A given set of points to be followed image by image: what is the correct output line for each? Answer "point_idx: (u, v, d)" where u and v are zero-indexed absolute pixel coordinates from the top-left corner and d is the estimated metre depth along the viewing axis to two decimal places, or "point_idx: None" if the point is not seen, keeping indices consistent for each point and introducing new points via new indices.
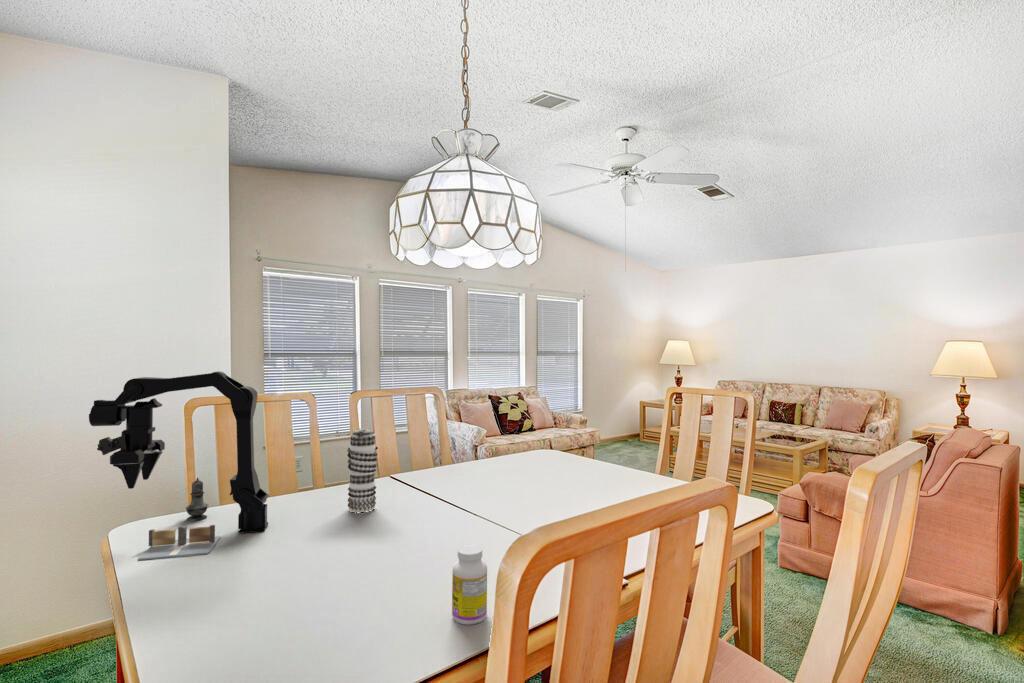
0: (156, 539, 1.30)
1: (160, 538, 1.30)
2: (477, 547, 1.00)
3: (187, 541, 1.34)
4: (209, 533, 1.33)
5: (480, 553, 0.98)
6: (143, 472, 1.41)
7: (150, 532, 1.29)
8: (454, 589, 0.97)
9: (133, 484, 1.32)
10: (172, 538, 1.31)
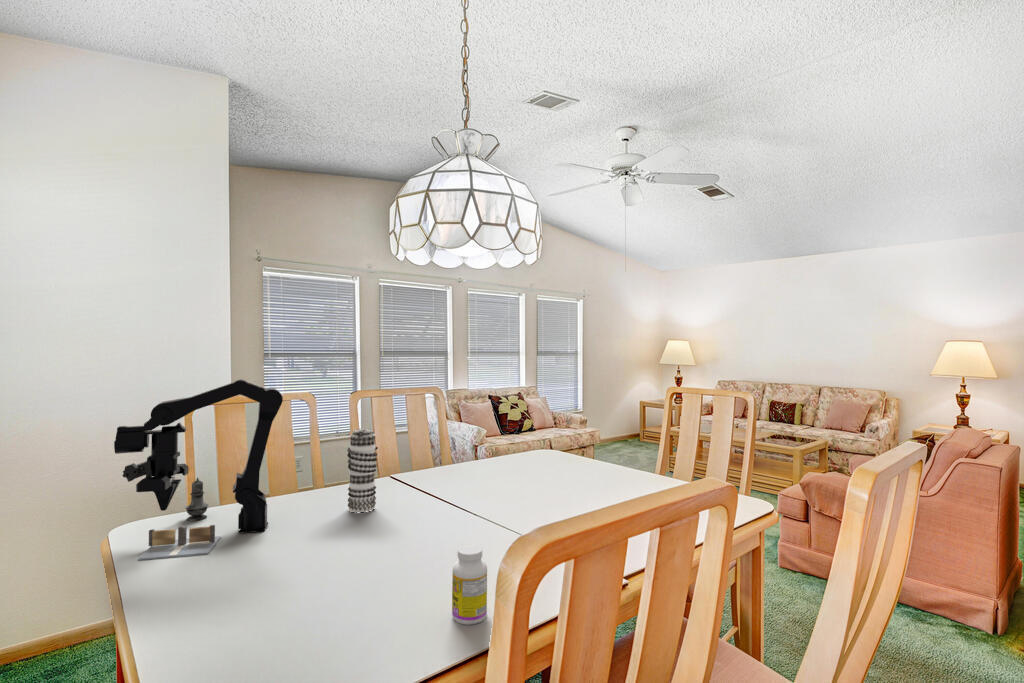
0: (156, 539, 1.30)
1: (160, 538, 1.30)
2: (477, 547, 1.00)
3: (187, 541, 1.34)
4: (209, 533, 1.33)
5: (480, 553, 0.98)
6: None
7: (150, 532, 1.29)
8: (454, 589, 0.97)
9: (165, 506, 1.34)
10: (172, 538, 1.31)
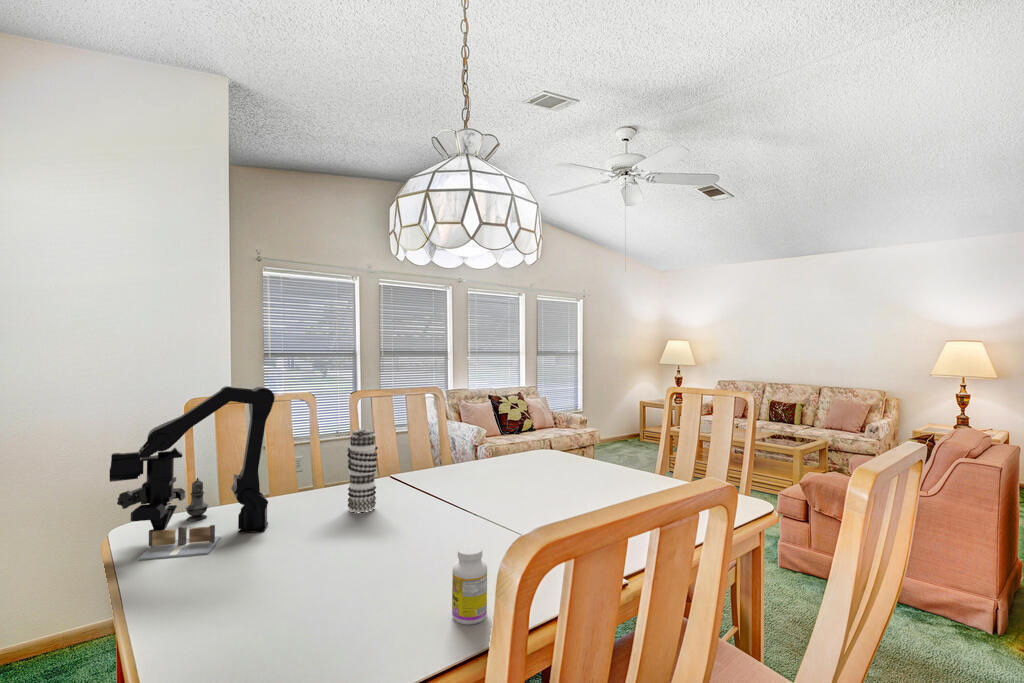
0: (156, 539, 1.30)
1: (160, 538, 1.30)
2: (477, 547, 1.00)
3: (187, 541, 1.34)
4: (209, 533, 1.33)
5: (480, 553, 0.98)
6: None
7: (150, 532, 1.29)
8: (454, 589, 0.97)
9: None
10: (172, 538, 1.31)
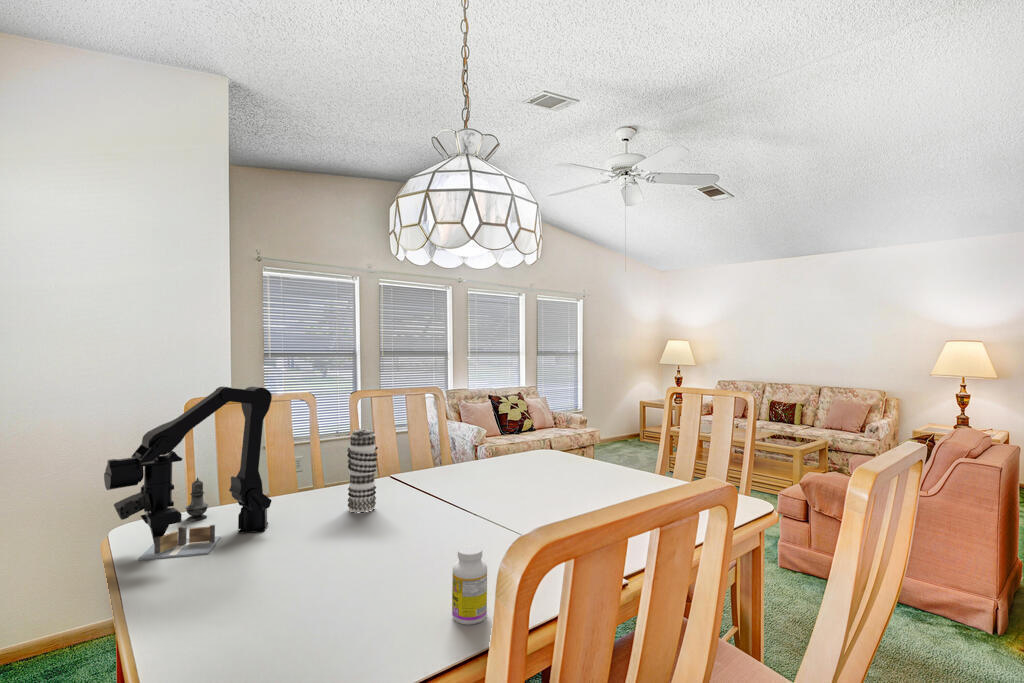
0: (163, 544, 1.26)
1: (166, 542, 1.27)
2: (477, 547, 1.00)
3: (187, 541, 1.34)
4: (209, 533, 1.33)
5: (480, 553, 0.98)
6: (154, 536, 1.27)
7: (158, 539, 1.25)
8: (454, 589, 0.97)
9: None
10: (176, 540, 1.30)
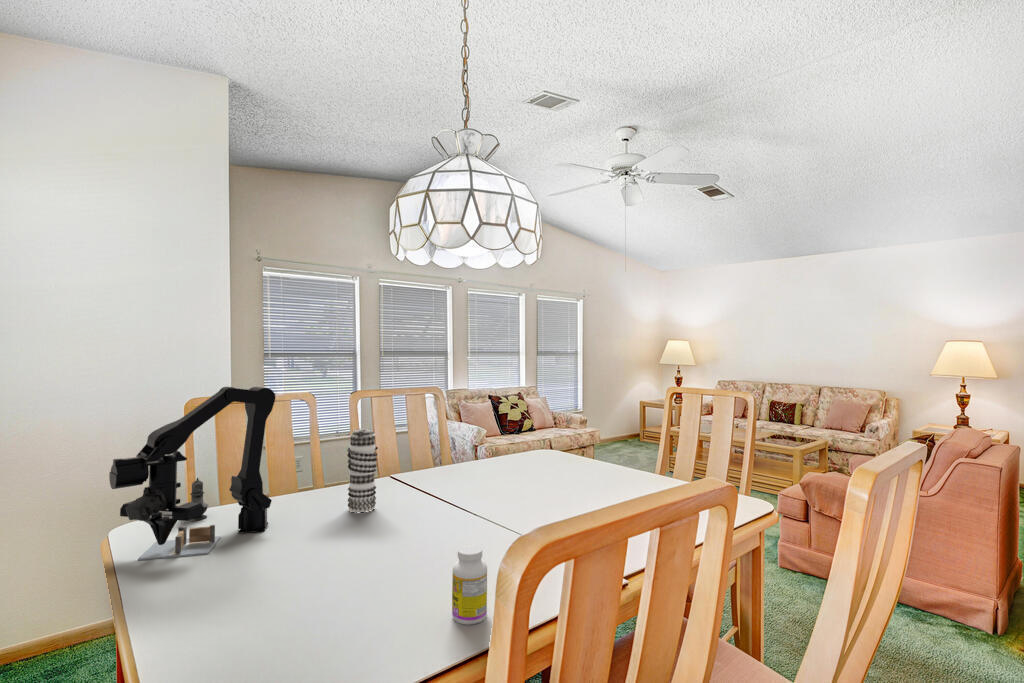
0: (181, 544, 1.27)
1: (181, 542, 1.28)
2: (477, 547, 1.00)
3: (187, 541, 1.34)
4: (209, 533, 1.33)
5: (480, 553, 0.98)
6: None
7: (181, 538, 1.26)
8: (454, 589, 0.97)
9: (166, 539, 1.28)
10: (183, 539, 1.30)
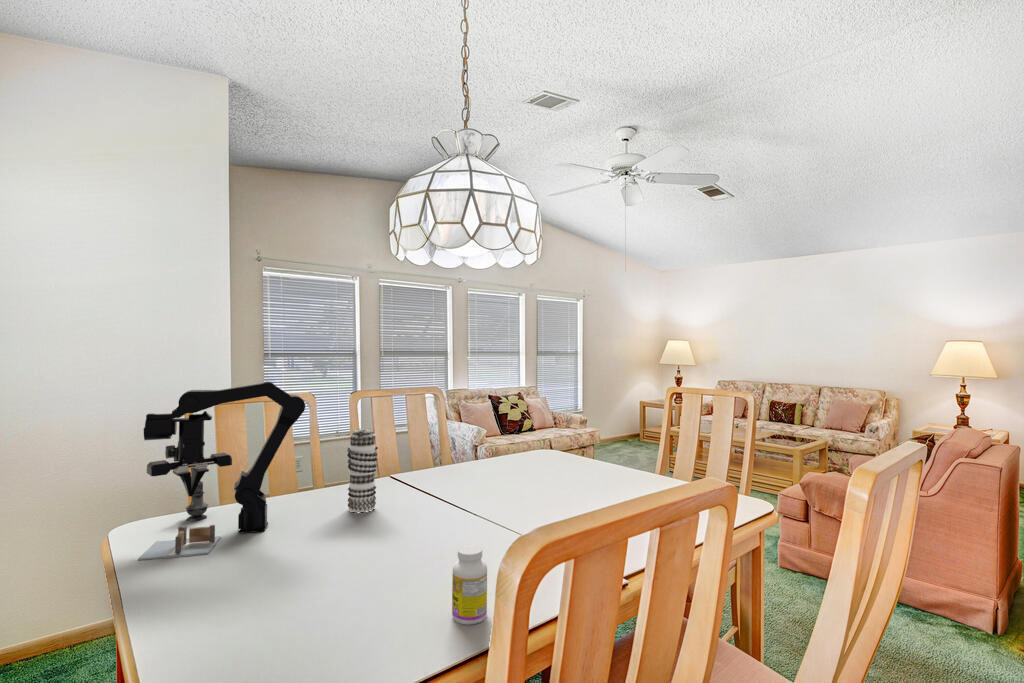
0: (181, 544, 1.27)
1: (181, 542, 1.28)
2: (477, 547, 1.00)
3: (187, 541, 1.34)
4: (209, 533, 1.33)
5: (480, 553, 0.98)
6: None
7: (181, 538, 1.26)
8: (454, 589, 0.97)
9: (188, 493, 1.37)
10: (183, 539, 1.30)
